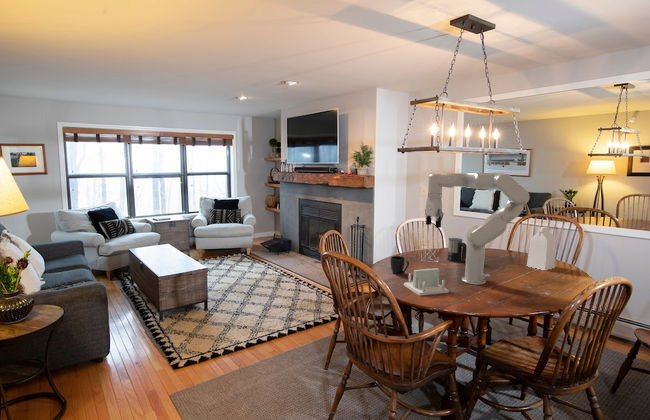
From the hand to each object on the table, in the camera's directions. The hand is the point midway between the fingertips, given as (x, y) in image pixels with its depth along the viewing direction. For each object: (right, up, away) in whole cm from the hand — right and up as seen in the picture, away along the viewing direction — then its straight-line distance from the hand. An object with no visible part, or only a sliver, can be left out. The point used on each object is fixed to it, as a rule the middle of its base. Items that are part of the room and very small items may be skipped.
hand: (433, 226), depth 215 cm
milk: (+77, -28, +28) cm, 87 cm away
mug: (-17, -29, +11) cm, 35 cm away
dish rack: (-8, -33, -15) cm, 37 cm away
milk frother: (+30, -25, +43) cm, 58 cm away
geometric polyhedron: (+9, -25, +41) cm, 49 cm away
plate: (-8, -31, -15) cm, 35 cm away
